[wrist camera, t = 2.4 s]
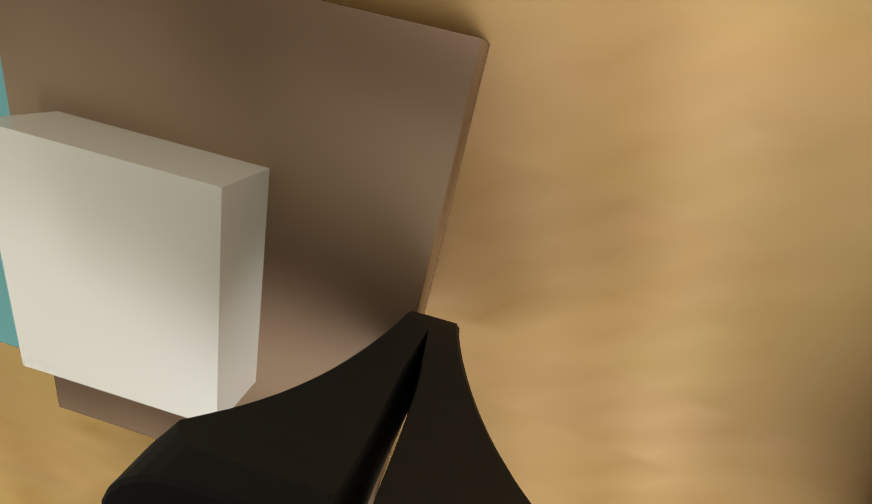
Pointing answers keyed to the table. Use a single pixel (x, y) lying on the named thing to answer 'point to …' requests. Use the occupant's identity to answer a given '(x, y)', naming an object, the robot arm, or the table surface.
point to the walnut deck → (275, 149)
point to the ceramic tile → (132, 261)
